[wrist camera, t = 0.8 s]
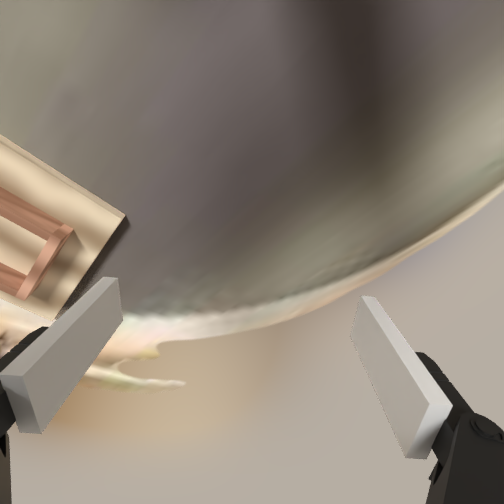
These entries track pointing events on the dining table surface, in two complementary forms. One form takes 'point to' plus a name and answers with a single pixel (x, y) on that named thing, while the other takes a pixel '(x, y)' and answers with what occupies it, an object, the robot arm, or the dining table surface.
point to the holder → (46, 232)
